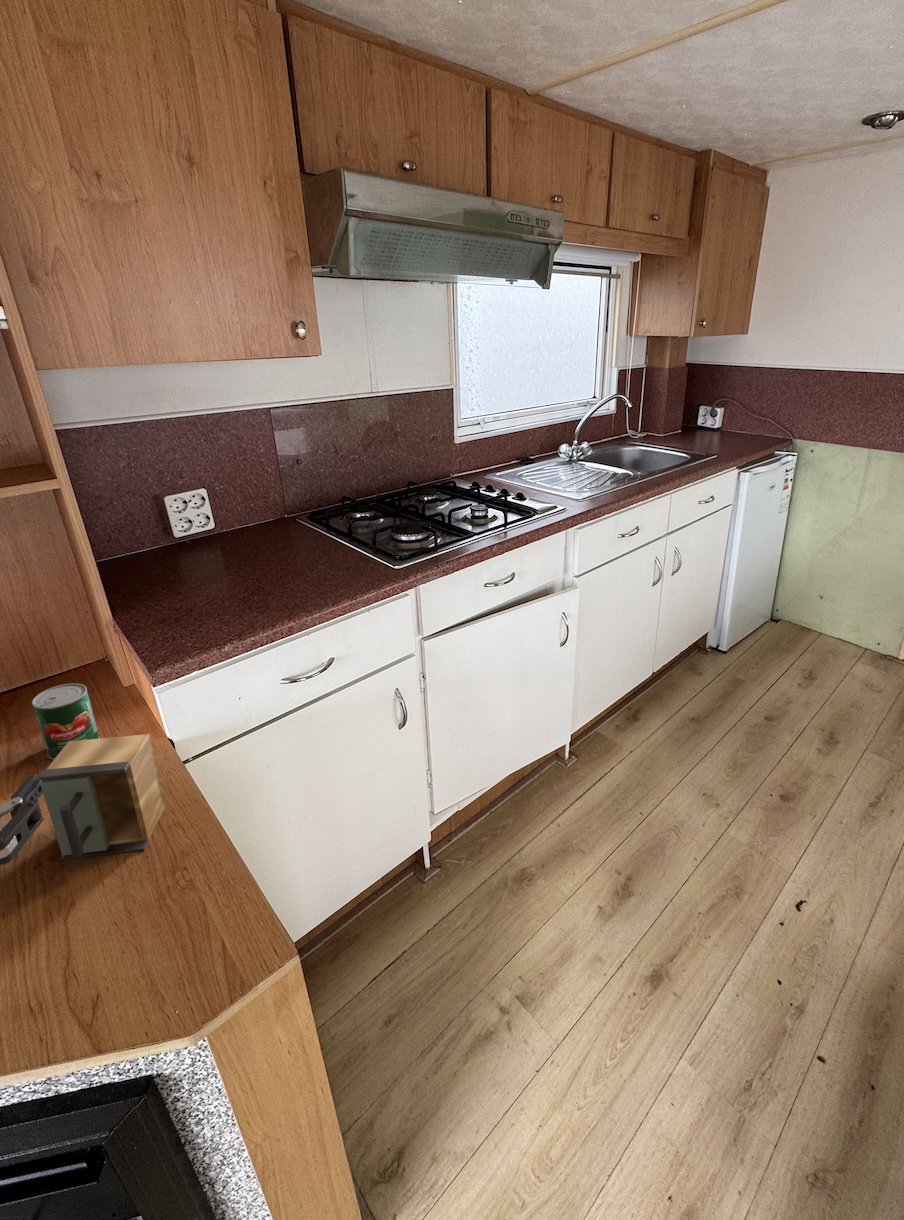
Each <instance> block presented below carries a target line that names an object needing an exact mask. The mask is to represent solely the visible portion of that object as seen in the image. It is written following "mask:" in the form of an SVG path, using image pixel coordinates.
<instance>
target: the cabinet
mask: <svg viewBox="0 0 904 1220" xmlns="http://www.w3.org/2000/svg"><path fill="white" fill-rule="evenodd" d="M52 760H53V759H52ZM37 775H38V776H39V779H41V781H43V780H53V779H63V778H73V777H83V776H89V779H90V783H91V787H92V790H93V794H94V798H95V801H96V805H97V809H98V812H99V816H100V820H101V823H102V827H103V831H104V834H105V838H106V842H107V845H108V849H107V850H105V851H97V852H89V853H83V854H82V855H81V856H79V857H73V854H72V855H64V856H61V857H60V861H66V860H75V859H84V858H91V857H99V856H105V855H106V856H107V855H115V854H122V853H123V854H124V853H133V852H141V851H145V850H146V848H147V846H148V843H149V841H150V839H151V837H152V836H153V833H154V831H155V829H156V827H157V825H158V823H159V821H160V819H161V816H162V815H163V813H164V810H165V808H166V804H165V800H164V795H163V791H162V786H161V781H160V777H159V773H158V769H157V763H156V759H155V755H154V750H153V745H152V740H151V736H150V734H149V733H146V734H145V733H144V734H135V735H125V736H124V735H123V736H112V737H103V738H101V737H100V739H90V740H78V741H69V742H68V743H67V744H66V746H65V747H64V748H63V749H62V750H61V752H60V753H59V754H58V755H57V757H56V758H55V759H54V760H53V761H51V763H50V764H49V765H48V766H47V767H46V769H41V770H40V772H39V773H38V774H37Z"/></svg>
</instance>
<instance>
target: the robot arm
mask: <svg viewBox="0 0 904 1220" xmlns="http://www.w3.org/2000/svg"><path fill="white" fill-rule="evenodd" d="M43 791H44V789H43V785H42V782H41V779H39V776H38V774H33V775H28V776H27V778H26V779H25V780H24V781H23V782H22V783H21V785H20V786H19V787H18V788H17V790H16V791H15V792H14V793H13V794H12V795H11V796H10V799H9V800H8V801H6V802H4V803H2V804H1V805H0V819H1V818H2V817H3V816H5V815H7V814H10V817H9V818H7V819H5V820H3V821H2V822H0V866H4V865H7V864H8V863H10V862H12V860H14V858H15V857H16V855H18V853H19V851H20V850H22V848H23V847H24V845H26V843H27V842H28V841H29V839H30V838H31V837H32V836H33V835H34V833H35V832H36V831H37V829H38V828H39V827H40V826H41V825H42V823H43V822H44V819H45V818H44V816H43V813H42V810H41V807H40V804H39V801H38V800H39V799H40V798H41V796H42V795H43Z"/></svg>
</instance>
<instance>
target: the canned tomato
mask: <svg viewBox="0 0 904 1220" xmlns="http://www.w3.org/2000/svg"><path fill="white" fill-rule="evenodd" d="M31 706H32V707H33V710H34V714H35V718H36V722H37V725H38V728H39V731H40V734H41V737H42V741H43V744H44V748H45V750H46V754H47V758H48V759H51V760H54V759H55V758H56V757H57V755H58V754H59V753H60V752H61V750H62V749H63V748H64V747H65V746H66V744H67V743H68V742H69V741H78V740H90V739H101V737H100V735H99V731H98V728H97V727H98V726H97V724H96V721H95V716H94V712H93V708H92V704H91V700H90V697H89V693H88V688H87V686H86V685H85V684H82V683H76V682H75V683H74V682H72V683H65V684H59V685H56V686H52V687H50V688H48V689H45V690H43V691H42V692H40V693H38V694H37V695H36V696H34V697H33V699H32V701H31Z"/></svg>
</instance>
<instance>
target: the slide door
mask: <svg viewBox="0 0 904 1220" xmlns="http://www.w3.org/2000/svg"><path fill="white" fill-rule="evenodd" d="M41 782H42V785H43V789H44V791H43V793H42V795H43V798H44V801H45V804H46V807H47V810H48V814H49V817H50V820H51V824H52V827H53V830H54V833H55V837H56V839H57V843H58V846H59V849H60V852H61V855H62V856H64V855H72V854H73V857H79V856H81V855H82V854H83V853H89V852H97V851H105V850H107V849H108V845H107V842H106V838H105V834H104V831H103V827H102V823H101V820H100V816H99V812H98V809H97V805H96V801H95V798H94V794H93V790H92V787H91V783H90V779H89V776H83V777H73V778H63V779H53V780H43V781H41ZM62 856H61V857H62Z"/></svg>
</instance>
